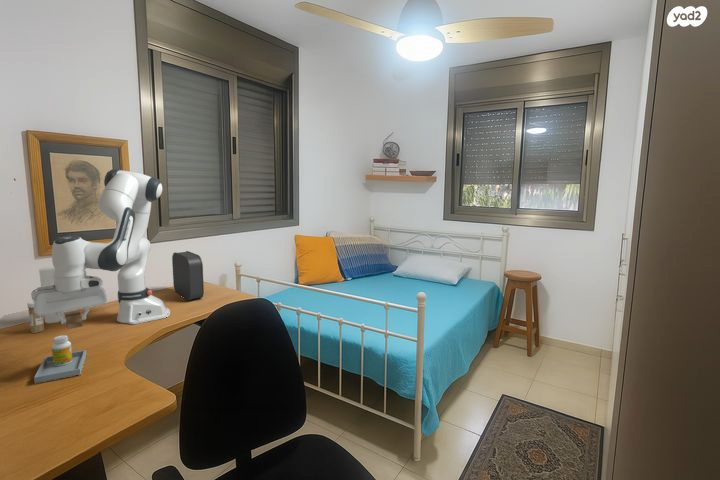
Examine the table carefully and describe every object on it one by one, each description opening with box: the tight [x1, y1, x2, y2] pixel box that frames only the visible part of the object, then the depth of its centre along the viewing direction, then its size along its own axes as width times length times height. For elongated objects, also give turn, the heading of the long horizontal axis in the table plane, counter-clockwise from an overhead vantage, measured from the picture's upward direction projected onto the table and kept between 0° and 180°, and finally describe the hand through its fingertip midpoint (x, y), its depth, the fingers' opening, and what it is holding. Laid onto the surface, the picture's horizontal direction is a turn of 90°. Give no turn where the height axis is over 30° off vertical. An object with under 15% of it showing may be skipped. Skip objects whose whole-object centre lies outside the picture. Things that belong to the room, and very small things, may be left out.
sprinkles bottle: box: [27, 300, 45, 334], centre depth 159 cm, size 5×5×13 cm
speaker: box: [171, 250, 205, 301], centre depth 211 cm, size 25×9×25 cm, turn 46°
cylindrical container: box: [38, 266, 66, 324], centre depth 170 cm, size 7×7×25 cm
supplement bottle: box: [51, 334, 73, 366], centre depth 132 cm, size 5×5×10 cm
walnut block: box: [64, 312, 83, 330], centre depth 129 cm, size 4×4×4 cm
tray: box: [33, 349, 87, 384], centre depth 130 cm, size 12×16×2 cm
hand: (73, 321), depth 129 cm, fingers closed on walnut block, 4 cm apart
